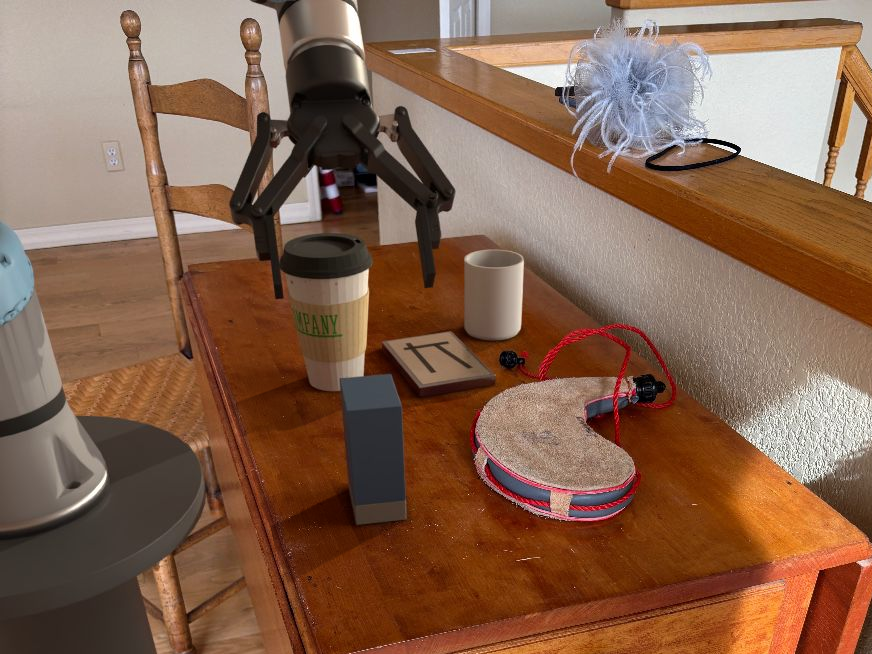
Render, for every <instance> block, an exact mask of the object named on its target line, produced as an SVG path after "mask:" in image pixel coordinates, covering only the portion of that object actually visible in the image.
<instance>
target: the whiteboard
mask: <svg viewBox="0 0 872 654" xmlns="http://www.w3.org/2000/svg"><path fill="white" fill-rule="evenodd" d="M381 351H382V352H383V354H384V355H385V356H386V357H387V359H388V360H389V361H390V363H392V365H393V366H394V367H395V368H396V370H397V371H398V372H399V373H400V375H401V376H402V377H403V378H404V380H405V381H406V382H407V383H408V384H409V385H410V387H411V388H412V389H413V391H415V393H416V394H417V395H418V397H419V398H424V397H425V398H426V397H430V396H438V395H443V394H448V393H449V394H450V393H454V392H460V391H461V392H462V391H467V390H472V389H478V388H485V387H489V386H495V385H496V374H495V373H494V372H493V371H492V370H491V369H490V368H489V367H488V366H487V365H486V364H485V363H484V362H483V361H482V360H481V359H480V358H479V357H478V356H477V355H476V354H475V353H474V352H473V351H472V350H471V349H470V348H469V347H468V346H467V345H466V344H465V343H464V342H463V341H462V340H461V339H460V338H459V337H458V336H456V334H455V333H454V332H452V331H451V330H450V331H444V332H436V333H430V334H429V333H428V334H423V335H416V336H412V337H410V336H409V337H403V338H396V339H389V340H384V341H381Z"/></svg>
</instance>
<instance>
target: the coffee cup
mask: <svg viewBox="0 0 872 654" xmlns="http://www.w3.org/2000/svg"><path fill="white" fill-rule="evenodd" d="M373 262H374V261H373V257H372V254H371V252H370V251H369V250H368V248H367V245H366V242H365V241H364V239H362V238H360V237H358V236H356V235H353V234H348V233H340V232H339V233H338V232H322V233H312V234H311V233H310V234H306V235H301V236H298V237H294V238H291V239H290V240H288V241H287V242H286V243H285V244H284V245H283V252H282V255H281V256H280V257H279V263H280V271H281V272H282V273H284V275H285V280H286V285H287V289H288V291H287V296H288V301H289V305H290V309H291V313H292V317H293V318H292V319H293V322H294V327H295V331H296V334H297V339H298V345H299V347H300V352H301V355H302V356H303V359H304V360H303V361H304V364H305V369H306V373H307V378H308V382H309V384H310V386H311V387H313V388H315V389H317V390H319V391H320V390H321V391H325V392H341V390H340V378H349V377H360V376H365V374H364V373H365V353H366V351H367V341H368V340H367V338H368V321H369V299H370V288H369V272H370V270H369V269H370V268H371V267H372V265H373V264H374V263H373Z"/></svg>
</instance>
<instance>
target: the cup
mask: <svg viewBox="0 0 872 654" xmlns="http://www.w3.org/2000/svg"><path fill="white" fill-rule="evenodd" d="M524 258H525V257H524V256H523V255H522V254H520V253H519V252H515V251H512V250H506V249H482V250H476V251H473V252H470V253H468V254H466V255H465V256H464V263H463V264H464V267H463V268H464V269H463V270H464V271H463V272H464V279H463V280H464V281H463V282H464V283H463V284H464V285H463V287H464V289H463V290H464V291H463V292H464V293H463V298H464V299H463V300H464V301H463V303H464V304H463V307H464V308H463V311H464V312H463V317H464V318H463V324H464V330H465V332H466V333H467V335H468V336H470V337H471V338H475V339H477V340H478V339H479V340H483V341H503V340H508V339H511V338H513V337H515V336H517V335H518V333H519V332H520V331H521V329H522V314H523V295H524V294H523V293H524V292H523V290H524V268H525V267H524V265H525V262H524V261H525V259H524Z"/></svg>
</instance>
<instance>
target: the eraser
mask: <svg viewBox="0 0 872 654" xmlns="http://www.w3.org/2000/svg"><path fill="white" fill-rule="evenodd" d="M340 390H341V391H340V401H341V402H340V403H341V413H342V423H343V424H342V425H343V437H344V447H345V448H344V449H345V458H346V460H345V461H346V471H347V472H346V473H347V484H348V492H349V496H350V497H349V498H350V501H351V507H352V512H353V516H354V522H355V525H356V526H359V525H369V524H378V523H379V524H380V523H388V522H397V521H406V520H407V498H406V497H407V496H406V475H405V474H406V473H405V472H406V471H405V451H404V450H405V449H404V425H403V406H402V403H401V400H400V396H399V394H398V390H397V387H396V385H395V381H394V379H393V376H392V374H391V373H386V374H384V373H383V374H374V375H364V376H360V377H349V378H340Z"/></svg>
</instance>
